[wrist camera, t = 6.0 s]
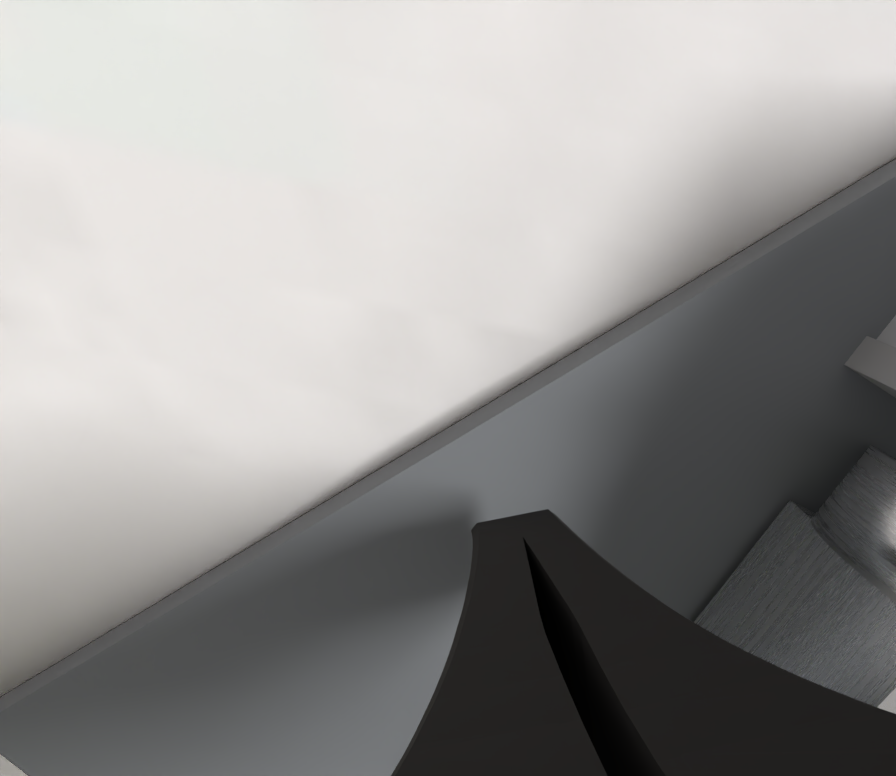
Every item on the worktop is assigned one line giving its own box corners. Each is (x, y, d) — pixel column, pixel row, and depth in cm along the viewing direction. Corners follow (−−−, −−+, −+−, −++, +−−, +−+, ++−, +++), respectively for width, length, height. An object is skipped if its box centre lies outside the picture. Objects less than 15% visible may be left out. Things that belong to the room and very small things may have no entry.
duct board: (1288, 600, 16) (1761, 842, 10) (399, 1037, 18) (409, 1411, 13) (1215, -34, 10) (2105, -215, 5) (-13, 705, 13) (-285, 1102, 8)
